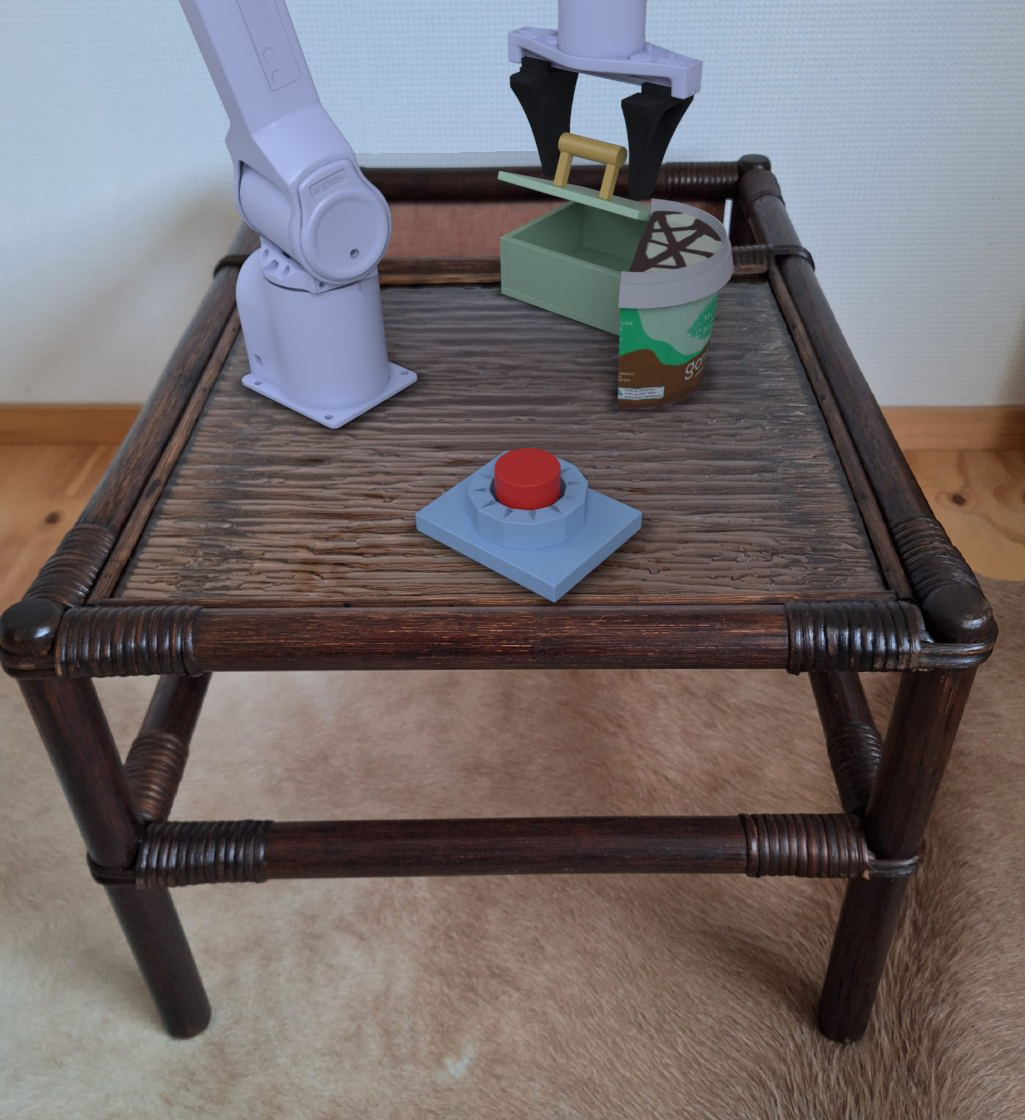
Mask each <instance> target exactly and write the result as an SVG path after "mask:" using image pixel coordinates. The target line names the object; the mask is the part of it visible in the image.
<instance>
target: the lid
mask: <svg viewBox="0 0 1025 1120" xmlns="http://www.w3.org/2000/svg"><path fill="white" fill-rule="evenodd" d="M558 148H559V151H560V152H561V153H560V158H559V162H558V166H557V171H556V174H555V175H554V179H553V180H551V179H550V180H549V179H544V178H540V177H534V176H529V175H524V174H518V173H514V172H509V171H502V170H499V171H498V175H497V180H498V181H502V182H504V183H505V182H506V183H508V184H512V185H516V186H519V187H523V188H527V189H530V190H533V191H536V192H540V193H543V194H546V195H550V196H554V197H558V198H559V199H564V200H566V201H574V202H577V203H581V204H584V205H588V206H591V207H595V208H598V209H601V210H605V211H608V212H612V213H615V214H619V215H622V216H626V217H629V218H632V219H636V220H642V221H648V222H649V221H650V215H651V204H646V203H643V202H639V201H635V200H632V199H630V198H629V199H628V198H625V197H621V196H618V195H615V194H614V192H615V187H616V183H617V179H618V176H619V172H620V168H623V167H624V166H625V164H626V162H627V159H628V149H627V147H626V146H624V145H619V144H615V143H611V142H607V141H603V140H600V139H595V138H591V137H587V136H583V135H581V134H580V135H579V134H575V133H571V132H570V133H568V132H565V133H563V134H562V135H561V137H560V139H559V142H558ZM574 157H575V158H580V159H584V160H587V161H591V162H595V163H598V164H602V165H603V164H604V165H606V167H605V171H604V174H603V178H602V182H601V187H600V190H597V189H593V188H589V187H586V186H583V185H582V186H581V185H577V184H571V183H568V182H569V181H568V180H569V176H570V172H571V169H572V163H573V160H574Z"/></svg>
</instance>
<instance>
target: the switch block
mask: <svg viewBox="0 0 1025 1120" xmlns="http://www.w3.org/2000/svg"><path fill="white" fill-rule="evenodd" d="M509 451H510V450H504V451H502V452H501V453H500V454H498V455H497V456H495V457H494V458H493V459H491V460H490V461H488V462H487V463H486V464H484V465H482V466H481V467H479V468H478V469H477V470H475V471H474V472H473V473H471V474H469V475H468V476H467V477H465V478H464V479H463V480H461V481H460V482H458V483H457V484H455V485H454V486H453V487H451V488H449V489H448V490H447V491H445V492H444V493H443V494H441V495H440V496H438V497H437V498H435V499H433V500H432V502H430V503H429V504H427V505H426V506H424V507H423V508H421V509H420V510H418V511H417V512H416V513H414V514H415V515H414V516H415V526H416V530H417V531H418V532H419V533H422V534H424V535H426V536H428V537H429V538H431V539H434V540H435V541H436V542H439V543H440V544H443V545H445V546H447V547H448V548H450V549H452V550H454V551H456V552H458V553H460V554H462V555H463V556H465V557H467V558H470V559H471V560H473V561H475V562H477V563H478V564H480V565H482V566H484V567H486V568H488V569H490V570H492V571H494V572H495V573H497V574H500V575H501V576H503V577H505V578H507V579H509V580H511V581H512V582H514V583H515V584H518V585H519V586H522V587H524V588H526V589H527V590H529V591H531V592H533V593H535V594H536V595H539V596H541V597H542V598H544V599H546V600H548V601H550V602H552V603H554V604H555V603H556V602H558V601H559V600H560V599H561V598H562V597H563V596H564V595H566V594H567V593H568V592H569V591H570V590H571V589H573V588H574V587H576V585H577V584H579V582H581V581H582V580H583V579H584V578H586V577H587V575H589V574H590V573H591V572H592V571H594V570H595V569H596V568H597V567H598V566H599V565H601V564H602V563H603V562H604V561H605V560H606V559H607V558H609V557H610V556H611V555H612V554H613V553H614V552H615V551H616V550H618V549H619V548H620V547H622V545H624V544H625V543H626V542H627V541H628V540H629V539H630V538H631V537H633V536H634V535H635V534H637V532H639V531H640V530H641V529H642V523H643V522H642V521H643V512H642V511H641V510H639V509H637V508H634V507H632V506H630V505H628V504H626V503H624V502H621V501H619V500H617V499H614V498H612V497H611V496H608V495H606V494H604V493H602V492H599V491H597V490H594V489H592V488H590V487H589V482H588V480H587V478H586V477H585V476H584V474H583V473H582V472H581V470H580V469H579V468H578V466H577V465H575V464H573V463H570V462H569V461H567V460H564V459H562V458H560V457H557V456H555V457H556V458H557V459H558V461H559V462H560V466H561V492H560V496H559V498H558V499H557V501H556V502H555V503H554V504H552V505H551V506H549V507H545V508H541V509H537V510H533V511H532V510H520V509H510V508H508V507H506V506H504V505H503V504H502V503H500V502H499V500H498V499H497V497H496V494H495V473H494V467H495V463H496V461H497V460H498V459H499V458H500V457H501V456H502V455H504V454H505V453H507V452H509Z"/></svg>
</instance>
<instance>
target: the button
mask: <svg viewBox="0 0 1025 1120" xmlns="http://www.w3.org/2000/svg"><path fill="white" fill-rule="evenodd" d="M508 451H509V452H507V453H505V454H504V455H502V456H501V457H500V458H499V459H498V460H497V461H496V463H495V467H494V473H495V494H496V497H497V499H498V500H499V502H500V503H502V504H503V505H504V506H506V507H508V508H510V509H520V510H532V511H533V510H537V509H541V508H545V507H549V506H551V505H552V504H554V503H555V502H556V501H557V499H558V498H559V496H560V492H561V466H560V462H559V461H558V459H557V458H558V457H557V456H555V455H554V454H552V453H551V452H549V451H546V450H545V449H541V448H535V447H523V448H516V449H513V450H508ZM556 457H557V458H556Z"/></svg>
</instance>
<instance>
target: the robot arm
mask: <svg viewBox="0 0 1025 1120" xmlns="http://www.w3.org/2000/svg"><path fill="white" fill-rule="evenodd" d="M178 2H179V4H180V7H181V9H182V11H183V14H184V16H185V18H186V22H187V23H188V26H189V28H190V31H191V32H192V35H193V37H194V40H195V42H196V44H197V47H198V49H199V52H200V53H201V56H202V58H203V61H204V63H205V66H206V67H207V71H208V73H209V75H210V77H211V80H212V82H213V85H214V87H215V90H216V93H217V94H218V97H219V99H220V102H221V103H222V106H223V109H224V111H225V113H226V116H227V117H228V120H229V127H228V129H227V133H226V134H225V136H224V137H225V139H224V144H225V145H226V148H227V151H228V153H229V155H230V158H231V161H232V166H233V172H234V173H233V175H234V176H233V197H234V202H235V206H236V209H237V211H238V213H239V215H240V217H241V219H242V220H243V221H244V223H245V224H246V225H247V226H248V227H249V228H250V229H252V230H253V231H255V232H256V233H257V234H259V240H260V247H258V248H257V249H256V250H254V251H253V252H252V253H251V254H250V255H249V256H248V257H247V258H246V259H245V261H244V262H243V264H242V266H241V268H240V271H239V273H238V276H237V280H236V285H235V301H236V306H237V311H238V316H239V321H240V326H241V331H242V334H243V339H244V345H245V349H246V354H247V359H248V364H249V369H250V373H248V374H246V375H244V376H243V377H242V378H241V382H242V383H241V384H242V385H243V386H244V387H246V388H248V389H250V390H252V391H254V392H256V393H258V394H260V395H262V396H264V397H266V398H268V399H270V400H272V401H274V402H276V403H279V404H280V405H282V406H284V407H286V408H288V409H290V410H293V411H295V412H296V413H298V414H301V415H302V416H304V417H307V418H308V419H311V420H313V421H315V422H317V423H318V424H321V425H323V426H325V427H327V428H329V429H333V430H336V429H339V428H341V427H343V426H344V425H346V424H348V423H350V422H351V421H353V420H354V419H357V418H358V417H359V416H361V415H363V414H366V412H368V411H369V410H371V409H373V408H375V407H376V406H378V405H380V404H382V403H383V402H384V401H386V400H388V399H390V398H391V397H394V396H395V395H396V394H398V393H399V392H401V391H403V390H405V389H406V388H408V387H410V386H411V385H413V384H414V383H416V382H417V381H418V374H417V373H416V372H415V371H413V370H410V369H407V368H405V367H403V366H401V365H398V364H396V363H394V362H391V361H389V357H388V347H387V340H386V339H387V338H386V331H385V321H384V312H383V303H382V293H381V286H380V285H381V284H380V277H379V269H378V267H379V266H378V265H379V264H380V262H381V261H382V260H383V258H384V256H385V254H386V252H387V251H388V248H389V244H390V242H391V236H392V230H393V223H392V222H393V220H392V214H391V213H392V212H391V210H390V206H389V203H388V202H387V200H386V198H385V196H384V194H383V193H382V192H381V191H380V189H378V188H377V187H376V186H375V185H374V184H373V183H372V182H371V181H370V180H369V179H368V178H367V177H366V176H365V175H364V173H363V171H362V170H361V168H360V166H359V162H358V160H357V157H356V154H355V151H354V149H353V147H352V146H351V145H350V143H349V142H348V140H347V138H346V137H345V136H344V135H343V133H342V132H341V130H340V129H339V127H338V126H337V124H336V123H335V122H334V121H333V119H332V117H331V116H330V115H329V113H328V112H327V111H326V109H325V107H324V106H323V104H322V102H321V99H320V97H319V94H318V91H317V88H316V86H315V85H316V84H315V82H314V79H313V77H312V74H311V71H310V68H309V66H308V63H307V60H306V57H305V54H304V50H303V49H302V46H301V43H300V40H299V38H298V34H297V32H296V29H295V25H294V24H293V20H292V17H291V15H290V14H291V13H290V12H289V10H288V9H289V8H288V6H287V4H286V1H285V0H178ZM647 2H648V0H557V7H558V8H557V29H554V28H553V29H552V28H541V27H535V26H528V25H524V26H522V27H519V28H516V29H513V30H510V31H508V32H507V51H508V53H507V55H508V57H507V58H508V62H510V63H514V64H521V66H520V67H519V71H517V72H514V73H511V75H510V76H509V88H510V89H511V91H512V92H513V94H514V95H515V97H516V99H517V100H518V102H519V104H520V106H521V108H522V111H523V112H524V114H525V117H526V119H527V121H528V124H529V127H530V129H531V133H532V135H533V139H534V143H535V145H536V149H537V153H538V158H539V161H540V162H539V163H540V166H541V169H542V174H543V176H545V177H549V178H550V177H553V176H555V175H556V171H557V166H558V162H559V158H560V153H561V152H560V151H559V148H558V142H559V139H560V137H561V135H562V134H563V133H565V132H568V133H571V121H572V120H571V119H572V110H573V104H574V97H575V93H576V88H577V84H578V83H577V82H578V79H579V74H582V75H585V76H587V75H588V76H592V77H596V78H601V79H605V80H610V81H615V82H619V83H624V84H629V85H634V86H637V87H640V92H639V91H638V92H635V93H633V94H631V95H629V96H626V97H624V98H622V99H620V100H621V101H620V108H621V111H622V115H623V120H624V123H625V130H626V136H627V146H628V171H627V172H628V174H627V189H628V197H629V200H632V201H636V202H639V201H642V200H643V199H645V198H647V197H649V196H650V195H652V194H654V192H655V188H656V184H657V180H658V177H659V173H660V170H661V167H662V164H663V162H664V159H665V155H666V153H667V150H668V148H669V145H670V143H671V141H672V138H673V136H674V134H675V133H676V130H677V128H678V126H679V124H680V123H681V121H682V120H683V118H684V115H685V114H686V113H687V110H688V109H689V107H690V106H691V104H692V103H693V102H694V98H695V95H696V94H699V93H700V92H701V87H702V76H703V65H704V64H703V63H704V61H703V60H702V59H698V58H693V57H690V56H685V55H683V54H680V53H678V52H675V51H673V50H671V49H668V48H664V47H662V46H660V45H657V44H654V43H652V42H649V41H646V26H647V25H646V24H647V23H646V22H647V7H648V6H647V4H648V3H647Z"/></svg>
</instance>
